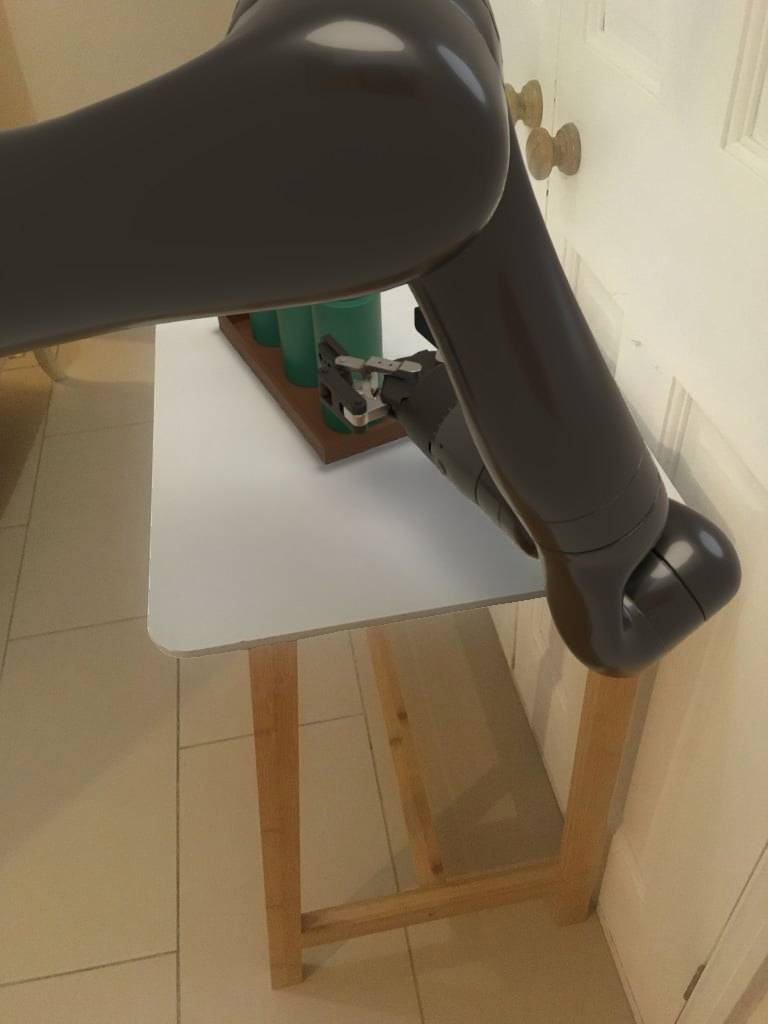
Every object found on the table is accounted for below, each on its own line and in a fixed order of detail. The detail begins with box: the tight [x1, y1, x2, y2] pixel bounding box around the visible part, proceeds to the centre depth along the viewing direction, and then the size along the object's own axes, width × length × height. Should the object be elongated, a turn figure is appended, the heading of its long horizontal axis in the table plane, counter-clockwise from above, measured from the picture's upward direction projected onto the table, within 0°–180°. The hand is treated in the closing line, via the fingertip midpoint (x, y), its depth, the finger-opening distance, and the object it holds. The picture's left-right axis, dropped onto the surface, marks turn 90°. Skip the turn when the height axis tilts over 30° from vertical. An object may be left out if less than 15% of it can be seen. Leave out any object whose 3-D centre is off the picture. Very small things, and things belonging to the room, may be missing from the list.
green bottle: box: [311, 292, 385, 434], centre depth 75 cm, size 6×6×18 cm
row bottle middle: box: [276, 305, 319, 387], centre depth 81 cm, size 6×6×18 cm
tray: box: [217, 313, 408, 465], centre depth 87 cm, size 27×10×2 cm, turn 28°
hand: (371, 330), depth 71 cm, fingers open, 8 cm apart
